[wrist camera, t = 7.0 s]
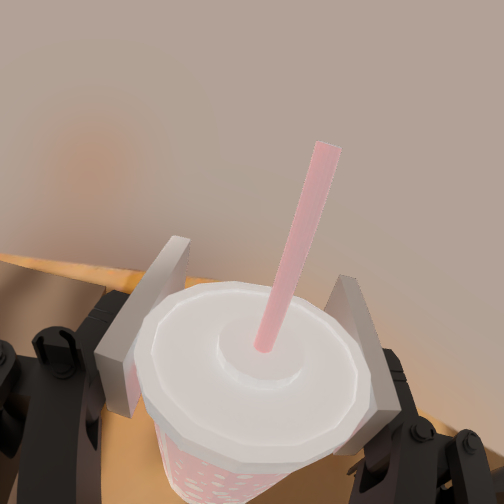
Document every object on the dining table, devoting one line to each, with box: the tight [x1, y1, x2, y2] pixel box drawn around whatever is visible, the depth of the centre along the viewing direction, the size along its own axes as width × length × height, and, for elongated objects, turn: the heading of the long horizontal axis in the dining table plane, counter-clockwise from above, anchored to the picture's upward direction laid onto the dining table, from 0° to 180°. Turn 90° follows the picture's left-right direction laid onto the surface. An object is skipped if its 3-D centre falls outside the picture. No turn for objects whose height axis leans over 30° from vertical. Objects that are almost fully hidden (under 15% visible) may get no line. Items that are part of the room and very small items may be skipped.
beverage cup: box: [134, 140, 371, 504], centre depth 8 cm, size 6×6×14 cm
